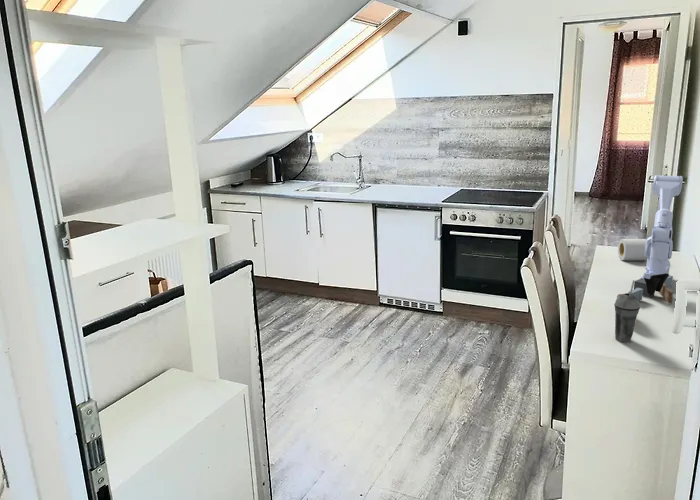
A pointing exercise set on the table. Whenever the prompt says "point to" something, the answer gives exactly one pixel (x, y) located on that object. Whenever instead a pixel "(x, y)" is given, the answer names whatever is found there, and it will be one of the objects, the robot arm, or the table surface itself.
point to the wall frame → (639, 291)
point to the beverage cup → (625, 316)
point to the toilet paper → (632, 249)
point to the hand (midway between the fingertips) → (653, 292)
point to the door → (666, 293)
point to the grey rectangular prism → (642, 287)
